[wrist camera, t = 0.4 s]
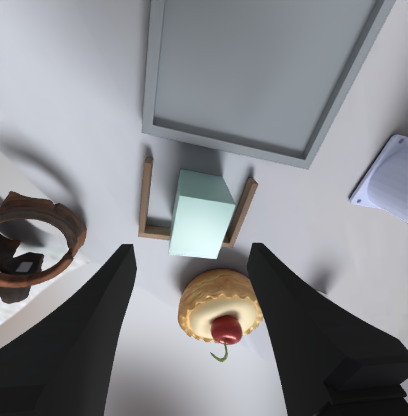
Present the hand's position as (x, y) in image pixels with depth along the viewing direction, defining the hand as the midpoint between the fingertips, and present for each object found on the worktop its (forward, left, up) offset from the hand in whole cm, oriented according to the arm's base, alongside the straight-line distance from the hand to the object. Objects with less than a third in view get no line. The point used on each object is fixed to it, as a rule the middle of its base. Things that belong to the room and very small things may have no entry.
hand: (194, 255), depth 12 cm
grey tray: (-3, -12, -10) cm, 16 cm away
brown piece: (+15, +8, -11) cm, 20 cm away
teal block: (-1, +1, -10) cm, 11 cm away
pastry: (-8, +16, -11) cm, 21 cm away
